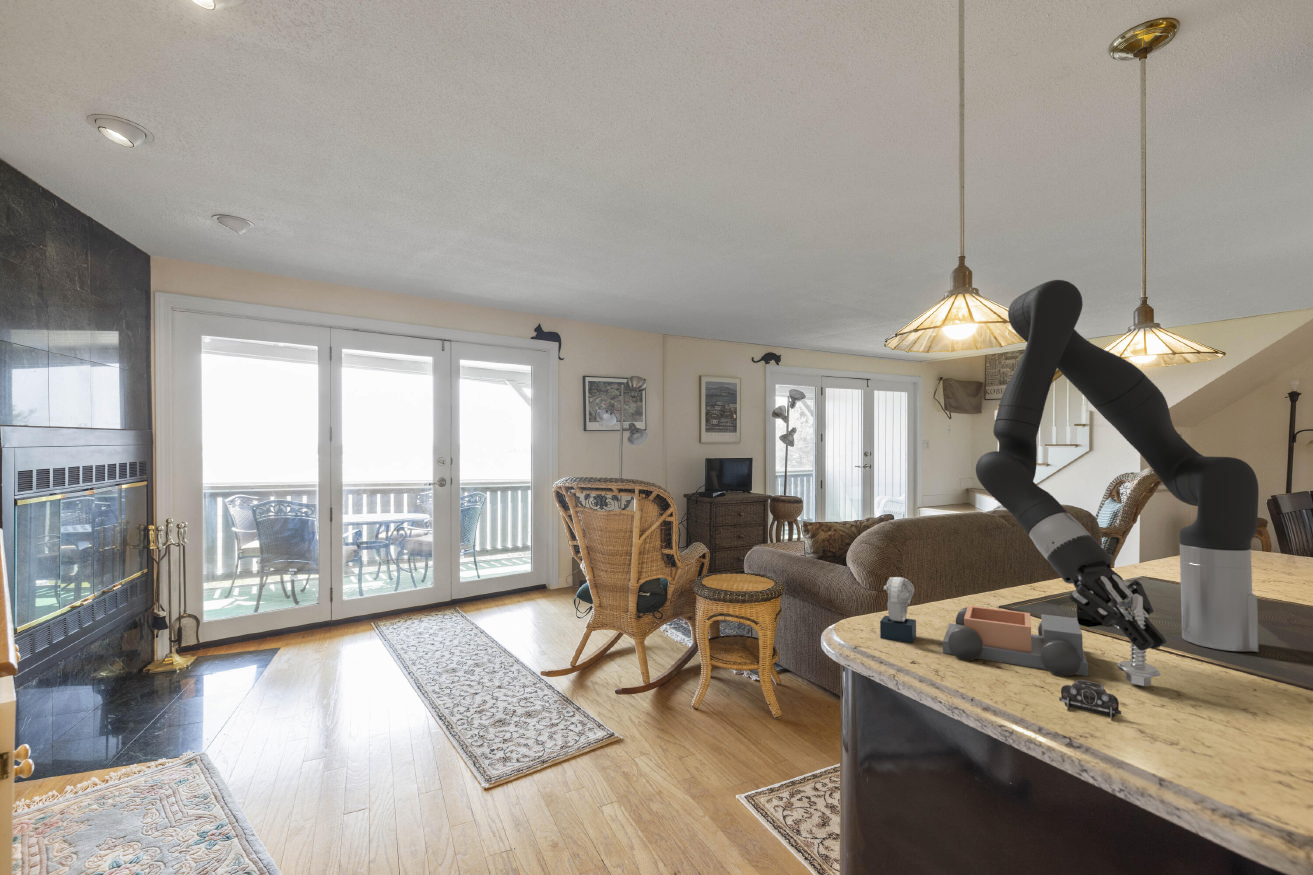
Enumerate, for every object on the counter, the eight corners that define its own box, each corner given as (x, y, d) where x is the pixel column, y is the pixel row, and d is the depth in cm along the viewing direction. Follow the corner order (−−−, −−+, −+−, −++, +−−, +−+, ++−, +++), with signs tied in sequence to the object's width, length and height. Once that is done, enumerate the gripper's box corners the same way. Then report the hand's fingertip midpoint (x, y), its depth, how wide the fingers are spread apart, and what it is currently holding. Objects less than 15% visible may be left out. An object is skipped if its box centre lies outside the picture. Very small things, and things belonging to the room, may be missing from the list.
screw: (1109, 677, 87) (1133, 674, 88) (1144, 691, 82) (1169, 687, 83) (1107, 590, 87) (1131, 588, 88) (1142, 598, 82) (1167, 596, 84)
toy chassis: (1079, 649, 101) (1078, 614, 101) (1089, 680, 87) (1088, 640, 87) (950, 630, 111) (950, 599, 111) (941, 656, 98) (941, 620, 98)
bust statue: (917, 633, 110) (916, 575, 110) (910, 645, 103) (909, 583, 103) (886, 628, 113) (885, 572, 113) (877, 640, 106) (876, 580, 106)
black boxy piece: (1096, 616, 122) (1096, 594, 123) (1133, 627, 115) (1133, 603, 116) (1052, 621, 119) (1051, 598, 119) (1088, 632, 112) (1087, 608, 112)
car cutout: (1055, 717, 77) (1054, 682, 77) (1060, 700, 82) (1060, 667, 82) (1212, 754, 67) (1211, 715, 67) (1207, 732, 72) (1206, 696, 72)
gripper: (1052, 535, 90) (1140, 639, 79) (1114, 531, 95) (1207, 628, 83) (1021, 563, 95) (1101, 665, 83) (1082, 557, 100) (1166, 653, 88)
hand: (1153, 646), depth 83 cm, fingers closed on screw, 2 cm apart
